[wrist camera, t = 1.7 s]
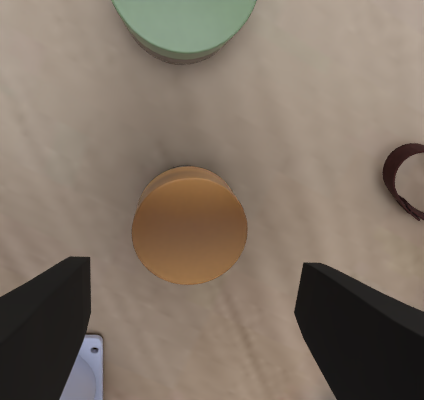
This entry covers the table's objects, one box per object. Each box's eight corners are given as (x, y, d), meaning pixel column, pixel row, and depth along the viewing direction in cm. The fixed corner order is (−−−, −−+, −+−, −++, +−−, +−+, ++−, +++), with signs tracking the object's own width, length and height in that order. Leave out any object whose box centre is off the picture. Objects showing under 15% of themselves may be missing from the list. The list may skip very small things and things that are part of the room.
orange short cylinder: (231, 261, 19) (241, 286, 17) (135, 259, 18) (130, 284, 16) (242, 169, 17) (254, 181, 15) (138, 162, 17) (132, 173, 14)
